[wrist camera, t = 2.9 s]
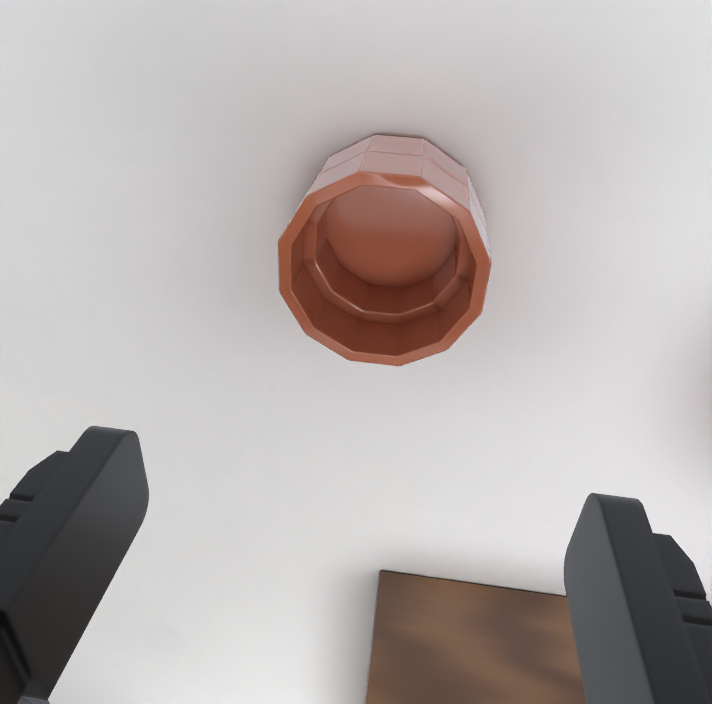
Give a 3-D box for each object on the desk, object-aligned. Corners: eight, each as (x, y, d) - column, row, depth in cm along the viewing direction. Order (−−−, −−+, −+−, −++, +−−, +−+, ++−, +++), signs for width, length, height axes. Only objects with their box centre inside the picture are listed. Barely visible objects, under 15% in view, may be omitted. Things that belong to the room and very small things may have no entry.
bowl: (306, 290, 23) (279, 353, 20) (307, 124, 20) (275, 163, 16) (466, 307, 23) (469, 375, 19) (495, 140, 20) (506, 184, 16)
